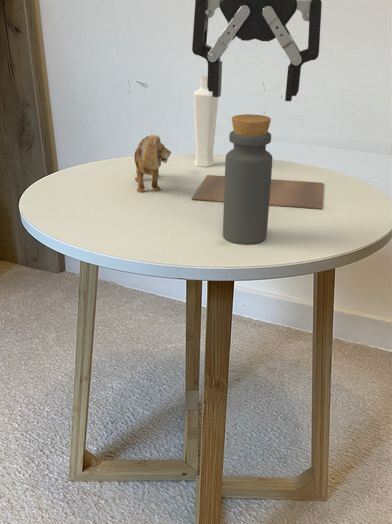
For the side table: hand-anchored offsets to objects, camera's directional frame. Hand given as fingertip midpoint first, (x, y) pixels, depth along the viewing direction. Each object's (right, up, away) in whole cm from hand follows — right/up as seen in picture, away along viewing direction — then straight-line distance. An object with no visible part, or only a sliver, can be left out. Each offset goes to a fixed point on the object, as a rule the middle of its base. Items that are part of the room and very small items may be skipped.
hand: (252, 98), depth 71 cm
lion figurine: (-14, -3, +29) cm, 32 cm away
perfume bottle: (-5, +5, +41) cm, 42 cm away
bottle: (0, -15, +9) cm, 17 cm away
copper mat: (+4, -4, +27) cm, 27 cm away
